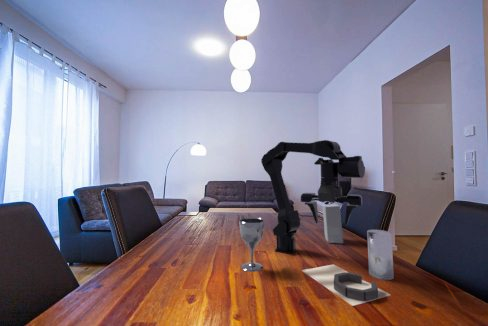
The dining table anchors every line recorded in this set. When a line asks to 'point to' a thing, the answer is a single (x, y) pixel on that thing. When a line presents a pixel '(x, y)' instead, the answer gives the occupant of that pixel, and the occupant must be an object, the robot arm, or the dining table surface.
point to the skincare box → (332, 223)
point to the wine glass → (251, 239)
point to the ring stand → (346, 284)
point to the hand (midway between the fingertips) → (330, 224)
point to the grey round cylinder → (380, 254)
